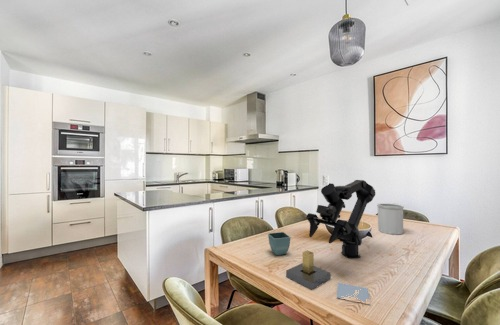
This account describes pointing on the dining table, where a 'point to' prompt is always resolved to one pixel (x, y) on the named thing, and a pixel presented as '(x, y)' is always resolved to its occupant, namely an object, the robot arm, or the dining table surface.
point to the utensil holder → (390, 218)
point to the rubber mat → (352, 291)
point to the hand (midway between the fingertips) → (319, 239)
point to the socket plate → (308, 276)
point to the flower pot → (279, 242)
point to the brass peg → (308, 262)
